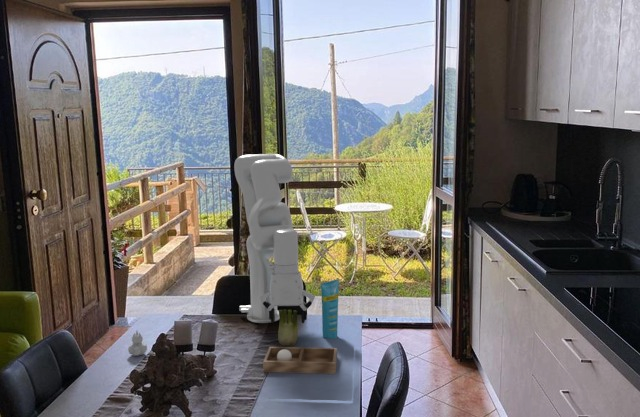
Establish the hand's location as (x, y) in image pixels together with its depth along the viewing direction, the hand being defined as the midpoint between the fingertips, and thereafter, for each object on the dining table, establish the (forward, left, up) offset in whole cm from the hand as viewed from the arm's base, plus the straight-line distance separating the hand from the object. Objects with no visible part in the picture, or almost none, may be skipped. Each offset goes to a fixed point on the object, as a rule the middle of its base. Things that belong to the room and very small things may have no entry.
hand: (288, 321), depth 174 cm
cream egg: (+1, -14, -8) cm, 16 cm away
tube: (+13, +9, -8) cm, 18 cm away
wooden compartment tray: (+6, -14, -8) cm, 17 cm away
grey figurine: (-45, -9, -8) cm, 47 cm away
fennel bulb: (0, +1, -8) cm, 8 cm away
